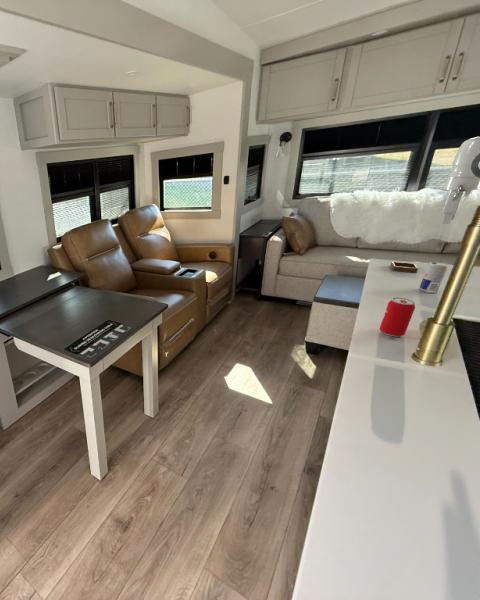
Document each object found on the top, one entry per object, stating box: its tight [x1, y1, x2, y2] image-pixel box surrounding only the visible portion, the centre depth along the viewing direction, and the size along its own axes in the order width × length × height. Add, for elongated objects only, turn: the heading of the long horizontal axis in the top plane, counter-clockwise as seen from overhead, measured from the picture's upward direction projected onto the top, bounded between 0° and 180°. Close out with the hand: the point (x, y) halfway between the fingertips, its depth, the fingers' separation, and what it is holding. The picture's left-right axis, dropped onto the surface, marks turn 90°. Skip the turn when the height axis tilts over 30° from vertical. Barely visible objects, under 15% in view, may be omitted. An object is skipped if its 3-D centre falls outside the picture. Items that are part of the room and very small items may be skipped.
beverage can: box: [379, 296, 416, 338], centre depth 103 cm, size 6×6×12 cm
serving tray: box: [390, 261, 419, 274], centre depth 152 cm, size 8×8×2 cm
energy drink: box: [418, 261, 449, 294], centre depth 128 cm, size 5×5×12 cm
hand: (447, 221), depth 123 cm, fingers open, 8 cm apart
